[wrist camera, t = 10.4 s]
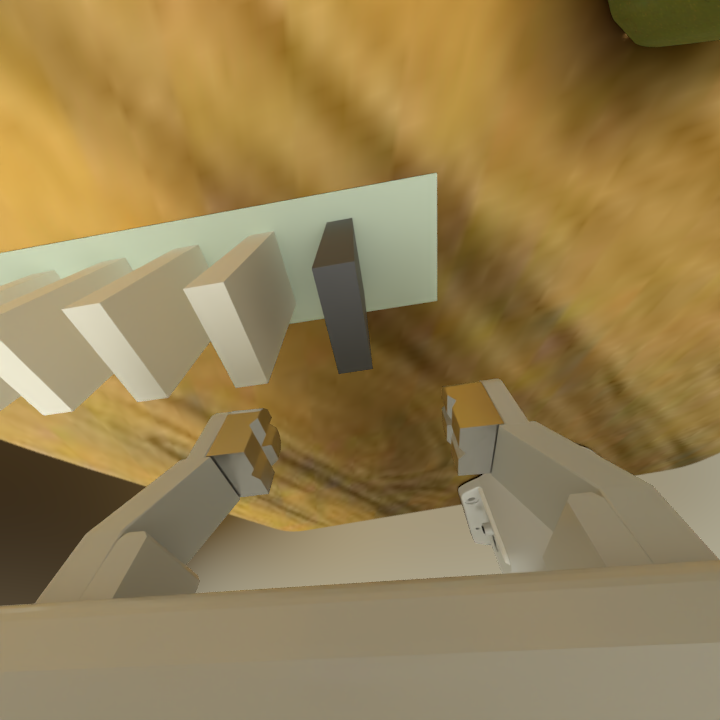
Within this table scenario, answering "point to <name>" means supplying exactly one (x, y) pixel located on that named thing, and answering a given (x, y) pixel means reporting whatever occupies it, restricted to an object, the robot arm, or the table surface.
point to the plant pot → (667, 21)
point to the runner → (283, 242)
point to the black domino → (343, 296)
